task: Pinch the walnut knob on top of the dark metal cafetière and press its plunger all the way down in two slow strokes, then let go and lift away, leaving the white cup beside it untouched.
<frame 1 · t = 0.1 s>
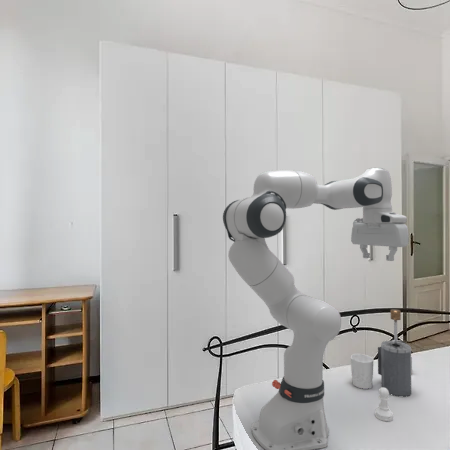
hand: (377, 259, 109), 48 cm above the table, fingers open, 8 cm apart
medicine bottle: (398, 371, 133), on the table
white cup: (362, 385, 123), on the table
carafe: (396, 389, 118), on the table
plunger: (395, 336, 118), point 19 cm above the table, slide at 0.0 cm
chess pawn: (384, 417, 102), on the table
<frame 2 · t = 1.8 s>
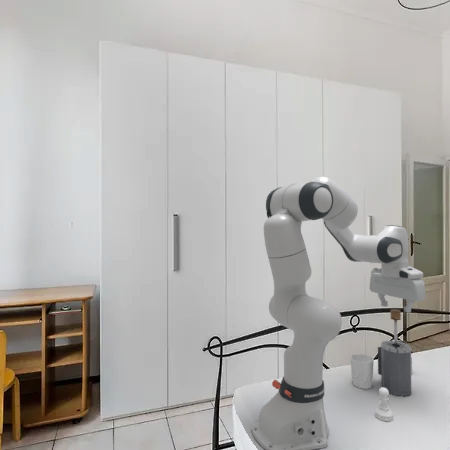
hand: (395, 309, 118), 29 cm above the table, fingers open, 8 cm apart
nothing on the table moved.
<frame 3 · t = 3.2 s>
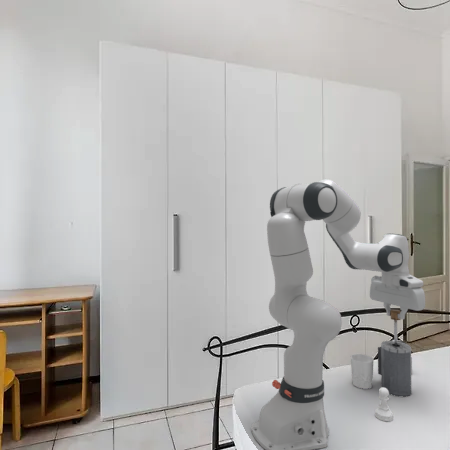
hand: (395, 317, 118), 26 cm above the table, fingers closed on plunger, 3 cm apart
plunger: (395, 336, 118), point 19 cm above the table, slide at 0.0 cm, touching gripper
everything else where it was.
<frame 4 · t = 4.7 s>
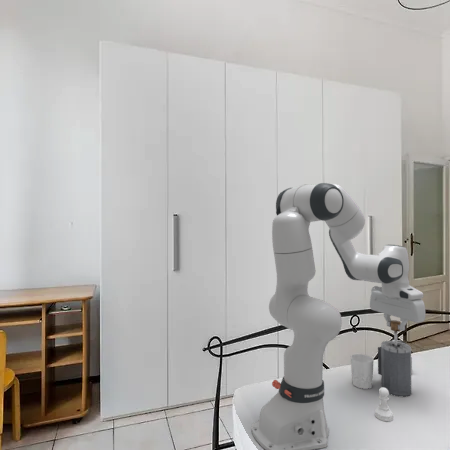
hand: (395, 328, 118), 22 cm above the table, fingers closed on plunger, 3 cm apart
plunger: (395, 347, 118), point 15 cm above the table, slide at -4.0 cm, touching gripper
everything else where it was.
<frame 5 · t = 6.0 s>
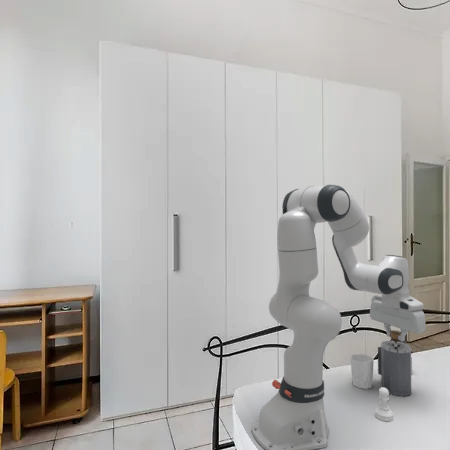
hand: (395, 338, 118), 18 cm above the table, fingers closed on plunger, 3 cm apart
plunger: (395, 357, 118), point 12 cm above the table, slide at -7.6 cm, touching gripper
everything else where it was.
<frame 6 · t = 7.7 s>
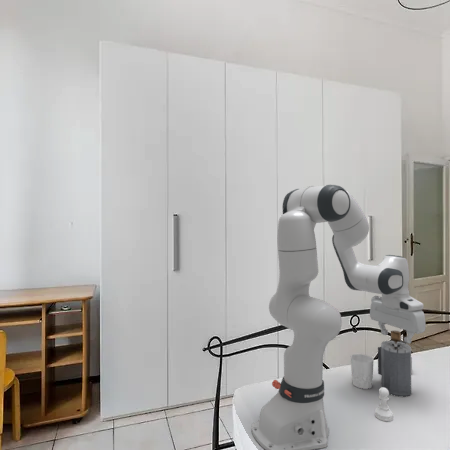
hand: (395, 338, 118), 18 cm above the table, fingers open, 8 cm apart
plunger: (395, 357, 118), point 12 cm above the table, slide at -7.7 cm
everything else where it was.
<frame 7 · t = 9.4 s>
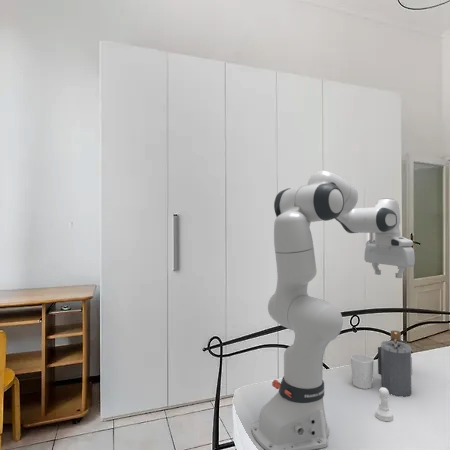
hand: (387, 276, 128), 39 cm above the table, fingers open, 8 cm apart
nothing on the table moved.
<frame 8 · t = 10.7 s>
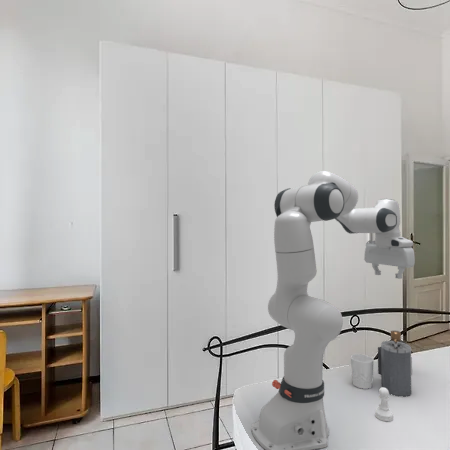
hand: (387, 276, 128), 39 cm above the table, fingers open, 8 cm apart
nothing on the table moved.
at the end: plunger slide at -7.7 cm; the gripper is holding nothing; white cup moved 0.2 cm from its start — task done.
